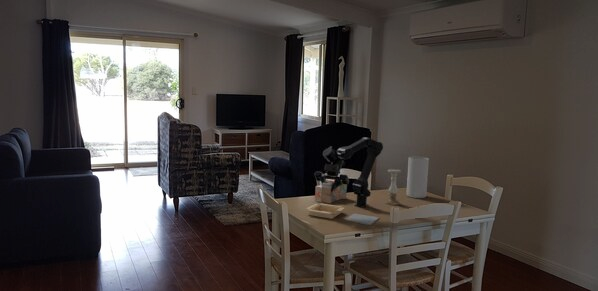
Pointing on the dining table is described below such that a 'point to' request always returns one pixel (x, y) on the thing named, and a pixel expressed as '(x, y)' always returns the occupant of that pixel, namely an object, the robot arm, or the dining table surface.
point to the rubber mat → (362, 219)
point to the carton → (324, 210)
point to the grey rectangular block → (327, 192)
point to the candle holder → (393, 188)
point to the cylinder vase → (417, 177)
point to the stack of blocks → (338, 192)
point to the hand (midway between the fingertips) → (326, 190)
